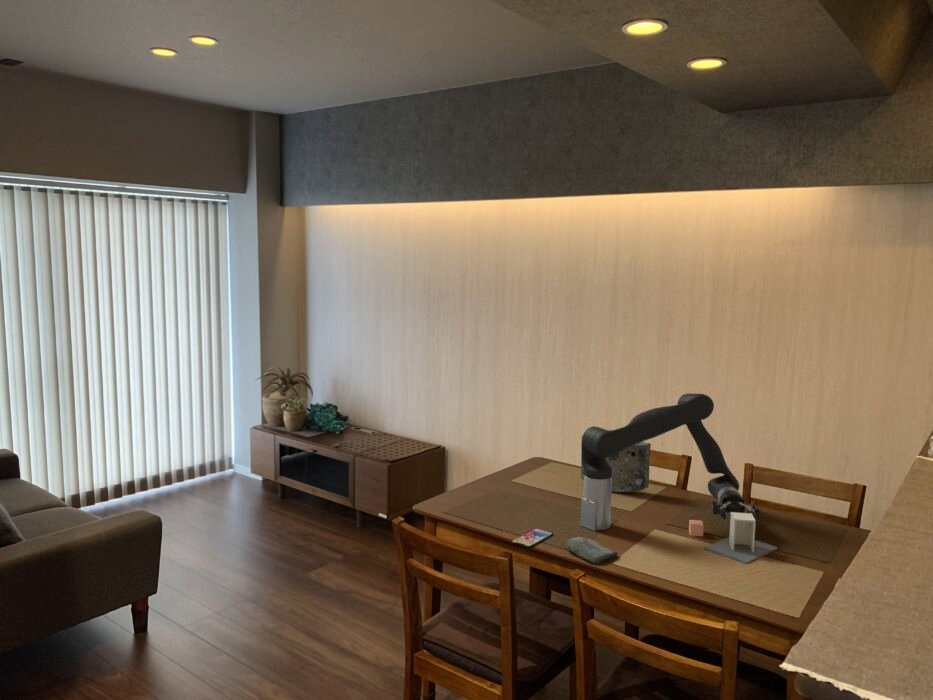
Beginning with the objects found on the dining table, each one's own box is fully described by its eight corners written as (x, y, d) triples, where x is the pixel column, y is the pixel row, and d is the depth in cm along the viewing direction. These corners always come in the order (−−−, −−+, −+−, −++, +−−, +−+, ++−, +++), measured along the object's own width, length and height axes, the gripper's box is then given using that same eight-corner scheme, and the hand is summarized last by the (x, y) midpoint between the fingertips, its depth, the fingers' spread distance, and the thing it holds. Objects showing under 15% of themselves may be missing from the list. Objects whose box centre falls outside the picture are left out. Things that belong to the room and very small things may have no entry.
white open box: (732, 550, 222) (734, 518, 221) (729, 542, 228) (730, 512, 227) (753, 552, 221) (755, 520, 220) (749, 544, 227) (751, 513, 226)
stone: (558, 548, 223) (593, 571, 212) (558, 536, 222) (594, 560, 211) (582, 537, 230) (619, 559, 218) (583, 525, 228) (620, 547, 217)
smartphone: (554, 533, 235) (529, 546, 223) (554, 535, 235) (529, 549, 223) (535, 527, 240) (509, 541, 228) (535, 530, 240) (509, 544, 228)
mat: (746, 563, 213) (746, 562, 213) (704, 549, 224) (704, 547, 224) (777, 548, 225) (777, 547, 225) (736, 535, 236) (736, 533, 235)
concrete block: (576, 485, 286) (577, 436, 284) (585, 480, 293) (587, 432, 291) (640, 498, 271) (642, 446, 269) (649, 492, 278) (651, 441, 276)
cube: (690, 535, 235) (690, 524, 235) (688, 531, 239) (689, 519, 239) (703, 536, 234) (703, 524, 234) (701, 532, 238) (702, 520, 238)
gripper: (709, 488, 246) (716, 504, 230) (753, 491, 243) (763, 507, 228) (708, 509, 247) (715, 526, 231) (752, 512, 244) (762, 530, 228)
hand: (739, 517), depth 229 cm, fingers open, 8 cm apart
